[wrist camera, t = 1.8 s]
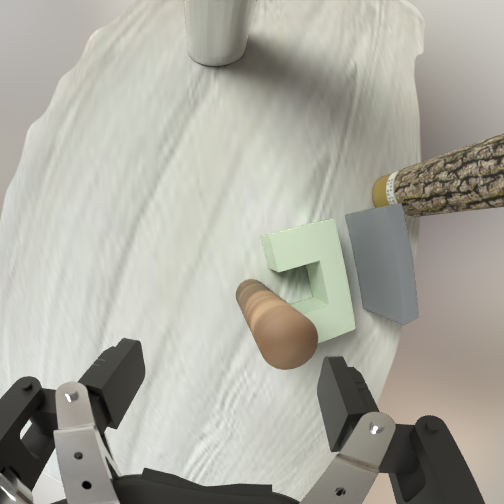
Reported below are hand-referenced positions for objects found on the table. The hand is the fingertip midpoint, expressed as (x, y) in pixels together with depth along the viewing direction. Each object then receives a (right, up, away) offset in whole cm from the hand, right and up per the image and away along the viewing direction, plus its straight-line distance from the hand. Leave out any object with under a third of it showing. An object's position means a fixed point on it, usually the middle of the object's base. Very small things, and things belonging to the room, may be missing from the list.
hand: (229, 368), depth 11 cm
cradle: (+8, +1, +25) cm, 26 cm away
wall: (+17, +4, +26) cm, 32 cm away
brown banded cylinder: (+1, -1, +24) cm, 24 cm away
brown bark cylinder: (+22, +13, +27) cm, 37 cm away
